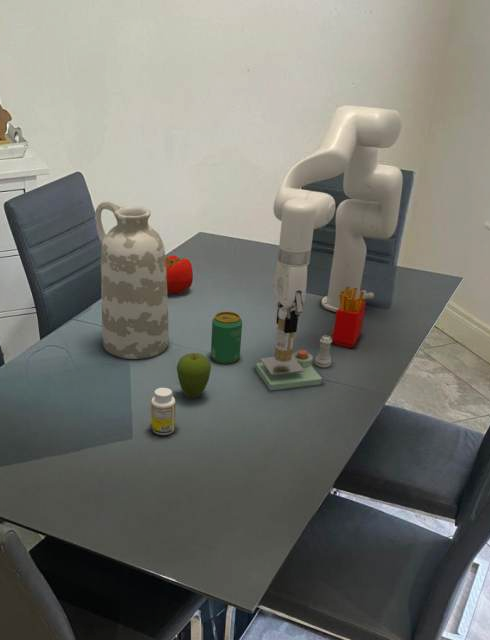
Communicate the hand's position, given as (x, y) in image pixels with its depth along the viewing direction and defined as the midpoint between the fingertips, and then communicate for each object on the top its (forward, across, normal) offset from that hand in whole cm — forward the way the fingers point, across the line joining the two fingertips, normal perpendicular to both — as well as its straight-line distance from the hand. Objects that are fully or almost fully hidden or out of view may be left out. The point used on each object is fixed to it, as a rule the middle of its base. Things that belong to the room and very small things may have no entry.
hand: (286, 327), depth 186 cm
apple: (+14, +4, -25) cm, 29 cm away
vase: (+14, -28, -34) cm, 46 cm away
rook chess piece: (+14, -4, +14) cm, 20 cm away
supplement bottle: (+14, +18, -36) cm, 43 cm away
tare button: (+11, -3, +7) cm, 13 cm away
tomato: (+14, -64, -14) cm, 67 cm away
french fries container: (+14, -17, +26) cm, 34 cm away
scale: (+14, 0, +2) cm, 14 cm away
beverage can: (+14, -14, -11) cm, 23 cm away
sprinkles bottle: (+9, 0, 0) cm, 9 cm away
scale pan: (+11, 0, 0) cm, 11 cm away
